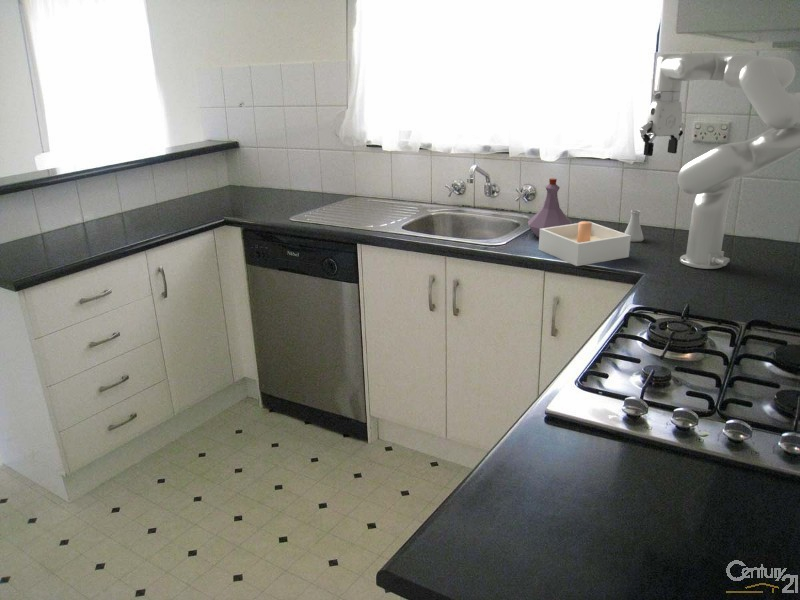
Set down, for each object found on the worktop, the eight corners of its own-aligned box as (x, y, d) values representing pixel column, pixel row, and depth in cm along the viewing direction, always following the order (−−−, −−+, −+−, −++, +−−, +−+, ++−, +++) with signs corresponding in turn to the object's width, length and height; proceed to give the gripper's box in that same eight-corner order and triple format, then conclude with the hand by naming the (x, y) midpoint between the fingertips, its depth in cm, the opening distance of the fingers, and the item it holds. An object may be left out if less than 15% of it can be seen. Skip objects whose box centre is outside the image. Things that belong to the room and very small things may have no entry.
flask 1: (559, 228, 247) (562, 173, 240) (582, 239, 232) (587, 181, 225) (518, 232, 243) (520, 176, 235) (539, 244, 228) (542, 185, 221)
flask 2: (645, 242, 227) (648, 213, 223) (622, 242, 228) (625, 213, 225) (642, 237, 233) (645, 208, 230) (620, 236, 235) (623, 208, 231)
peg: (591, 253, 216) (594, 223, 213) (581, 255, 215) (584, 225, 211) (583, 250, 220) (586, 220, 216) (573, 252, 218) (575, 222, 215)
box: (628, 257, 212) (630, 235, 210) (576, 266, 205) (578, 244, 202) (587, 241, 230) (589, 221, 227) (538, 249, 222) (539, 228, 220)
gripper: (653, 99, 198) (647, 158, 204) (697, 96, 205) (690, 153, 211) (635, 97, 205) (629, 154, 211) (678, 95, 211) (672, 150, 217)
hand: (659, 154), depth 211 cm, fingers open, 9 cm apart
